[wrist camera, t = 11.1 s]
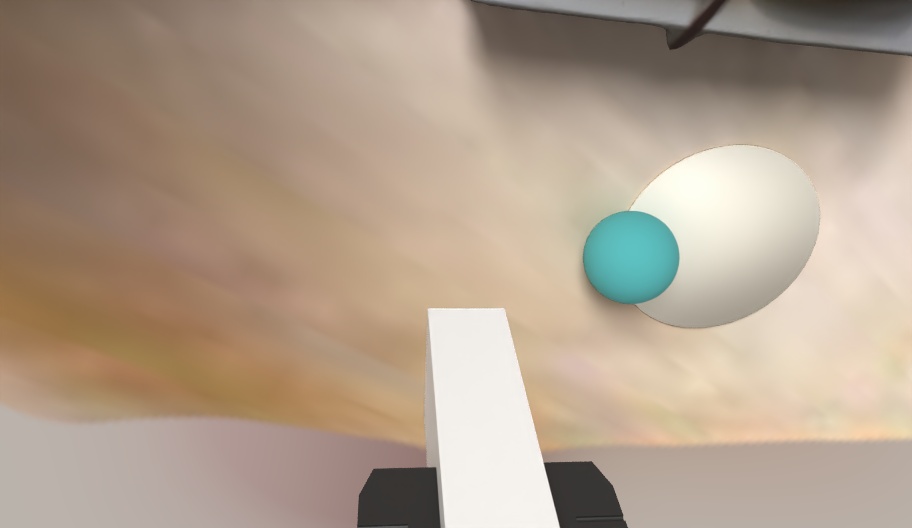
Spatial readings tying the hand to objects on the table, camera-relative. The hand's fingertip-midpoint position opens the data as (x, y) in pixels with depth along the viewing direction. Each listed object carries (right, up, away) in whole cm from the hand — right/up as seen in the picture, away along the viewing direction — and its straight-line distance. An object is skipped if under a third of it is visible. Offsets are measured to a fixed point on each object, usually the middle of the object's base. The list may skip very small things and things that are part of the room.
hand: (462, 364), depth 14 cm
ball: (+10, +2, +26) cm, 28 cm away
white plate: (+16, +3, +30) cm, 34 cm away
